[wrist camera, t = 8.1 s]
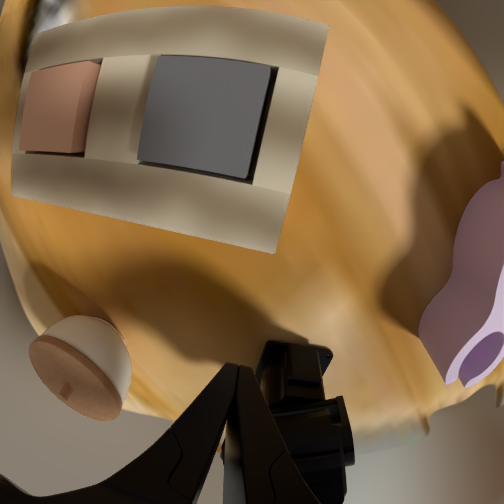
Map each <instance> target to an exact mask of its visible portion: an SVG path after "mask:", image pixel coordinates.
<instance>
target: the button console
mask: <svg viewBox="0 0 504 504" xmlns="http://www.w3.org/2000/svg"><path fill="white" fill-rule="evenodd" d="M328 27H329V25H327V24H324V23H320V22H316V21H312V20H308V19H304V18H300V17H295V16H290V15H285V14H280V13H274V12H268V11H261V10H253V9H245V8H234V7H219V6H170V7H155V8H145V9H136V10H129V11H122V12H116V13H111V14H105V15H101V16H96V17H92V18H87V19H83V20H79V21H76V22H72V23H69V24H65V25H62V26H59V27H56V28H53V29H50V30H47V31H44V32H41V33H39V34H36V36H35V39H34V42H33V45H32V48H31V51H30V55H29V58H28V62H27V65H26V69H25V73H24V77H23V81H22V86H21V90H20V95H19V100H18V106H17V112H16V119H15V126H14V135H13V146H12V162H11V196H15V197H20V198H25V199H29V200H34V201H38V202H43V203H47V204H52V205H56V206H61V207H65V208H70V209H75V210H79V211H84V212H88V213H93V214H97V215H102V216H106V217H111V218H115V219H120V220H124V221H129V222H133V223H138V224H142V225H147V226H151V227H156V228H160V229H164V230H169V231H173V232H178V233H182V234H187V235H191V236H196V237H200V238H205V239H209V240H213V241H218V242H222V243H227V244H231V245H236V246H240V247H244V248H249V249H253V250H258V251H262V252H267V253H271V254H275V252H276V248H277V244H278V241H279V237H280V233H281V229H282V225H283V221H284V218H285V214H286V210H287V206H288V202H289V198H290V194H291V190H292V186H293V182H294V178H295V174H296V170H297V166H298V162H299V157H300V153H301V149H302V145H303V141H304V136H305V132H306V128H307V124H308V119H309V115H310V111H311V106H312V102H313V97H314V93H315V89H316V84H317V79H318V75H319V70H320V66H321V61H322V56H323V52H324V47H325V42H326V37H327V32H328ZM158 56H188V57H204V58H215V59H225V60H233V61H241V62H247V63H254V64H260V65H265V66H270V75H271V85H270V89H269V93H268V98H267V102H266V106H265V111H264V115H263V119H262V124H261V128H260V132H259V137H258V141H257V146H256V150H255V155H254V159H253V164H252V168H251V172H250V173H249V174H248V175H247V176H246V178H245V179H244V178H240V177H235V176H230V175H225V174H220V173H215V172H209V171H204V170H199V169H193V168H187V167H181V166H175V165H169V164H162V163H156V162H149V161H142V160H137V154H138V147H139V141H140V135H141V129H142V123H143V118H144V113H145V108H146V103H147V99H148V94H149V90H150V85H151V81H152V77H153V73H154V69H155V66H156V62H157V58H158ZM83 61H90V62H93V63H96V64H99V65H101V68H100V72H99V76H98V80H97V84H96V89H95V93H94V98H93V103H92V108H91V114H90V120H89V126H88V133H87V140H86V148H85V151H82V152H74V153H64V152H48V151H24V150H19V145H20V134H21V126H22V119H23V112H24V106H25V100H26V95H27V90H28V86H29V81H30V77H31V73H32V72H34V71H38V70H42V69H46V68H51V67H55V66H60V65H65V64H71V63H77V62H83Z"/></svg>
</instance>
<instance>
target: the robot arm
mask: <svg viewBox="0 0 504 504" xmlns="http://www.w3.org/2000/svg"><path fill="white" fill-rule="evenodd" d="M270 345H271V346H272V347H269V346H270ZM326 355H328V356H326ZM332 358H333V353H332V351H331V350H325V349H318V348H312V347H305V346H299V345H293V344H288V343H282V342H277V341H267V342H266V343H265V346H264V349H263V352H262V355H261V358H260V361H259V364H258V367H257V370H256V372H255V374H254V372H253V369H252V368H251V367H248V366H243V365H240V366H238V365H237V364H233V363H228V362H227V363H225V365H224V366H223V367H222V368H221V369H220V371H219V372H218V373H217V374H216V375H215V376H214V378H213V379H212V380H211V381H210V382H209V383H208V385H207V386H206V387H205V388H204V389H203V390H202V392H201V393H200V394H199V395H198V396H197V397H196V399H195V400H194V401H193V402H192V403H191V404H190V405H189V407H188V408H187V409H186V410H185V411H184V412H183V413H182V414H181V416H180V417H179V418H178V419H177V420H176V421H175V422H174V423H173V424H172V425H171V427H170V428H169V429H168V430H167V431H166V432H165V433H164V434H163V435H162V436H161V437H160V438H159V439H158V440H157V441H156V442H155V443H154V444H153V445H152V446H151V447H150V448H148V449H147V450H146V451H145V452H144V453H142V454H141V455H140V456H139V457H137V458H136V459H134V460H133V461H132V462H130V463H129V464H128V465H126V466H125V467H124V468H122V469H121V470H119V471H118V472H116V473H115V474H114V475H112V476H111V477H109V478H107V479H106V480H104V481H102V482H100V483H98V484H96V485H92V486H89V487H85V488H81V489H78V490H73V491H70V492H65V493H60V494H55V495H51V496H43V497H37V496H32V495H31V494H29V493H28V492H26V491H25V490H23V489H22V488H20V487H19V486H17V485H16V484H14V483H13V482H12V481H10V480H9V479H8V478H6V477H5V476H3V475H2V474H0V504H196V503H197V500H198V498H199V495H200V493H201V490H202V487H203V485H204V482H205V479H206V477H207V474H208V472H209V469H210V466H211V463H212V461H213V458H214V455H215V453H216V450H217V447H218V445H219V442H220V439H221V436H222V433H223V431H224V428H225V424H226V437H225V439H224V442H223V444H222V447H221V449H222V452H221V454H220V457H221V459H222V460H223V464H224V483H223V504H342V503H343V502H344V497H345V495H346V492H347V486H346V473H345V466H351V465H354V463H355V456H354V444H353V437H352V431H351V426H350V422H349V418H348V414H347V411H346V407H345V403H344V399H343V396H337V397H336V398H333V399H328V400H325V393H324V387H323V379H322V376H323V375H324V373H325V371H326V369H327V367H328V365H329V364H330V362H331V360H332ZM226 421H227V423H226Z"/></svg>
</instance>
